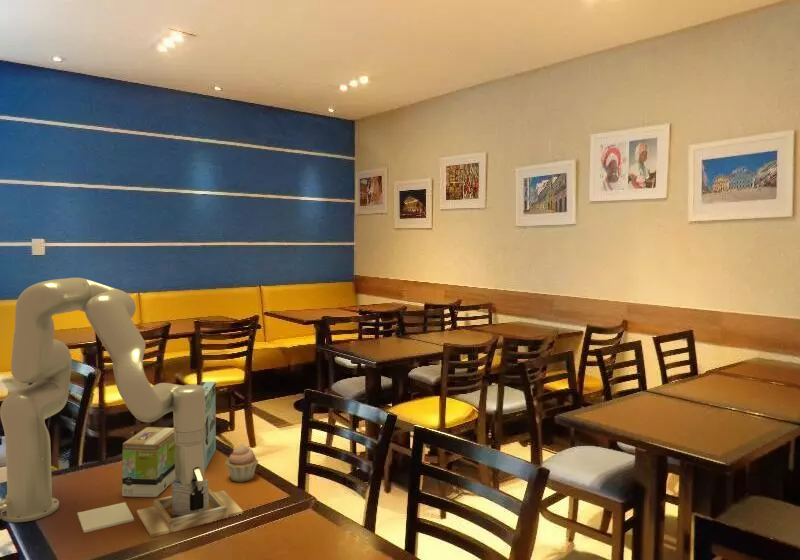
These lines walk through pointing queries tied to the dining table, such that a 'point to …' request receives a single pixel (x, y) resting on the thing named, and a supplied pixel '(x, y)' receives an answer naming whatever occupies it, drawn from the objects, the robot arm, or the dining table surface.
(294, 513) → the dining table surface
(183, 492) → the medicine box
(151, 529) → the beige rectangular frame piece
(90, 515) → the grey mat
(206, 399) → the gum box
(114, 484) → the dining table surface
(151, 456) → the tea box
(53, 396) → the robot arm
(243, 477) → the cupcake
